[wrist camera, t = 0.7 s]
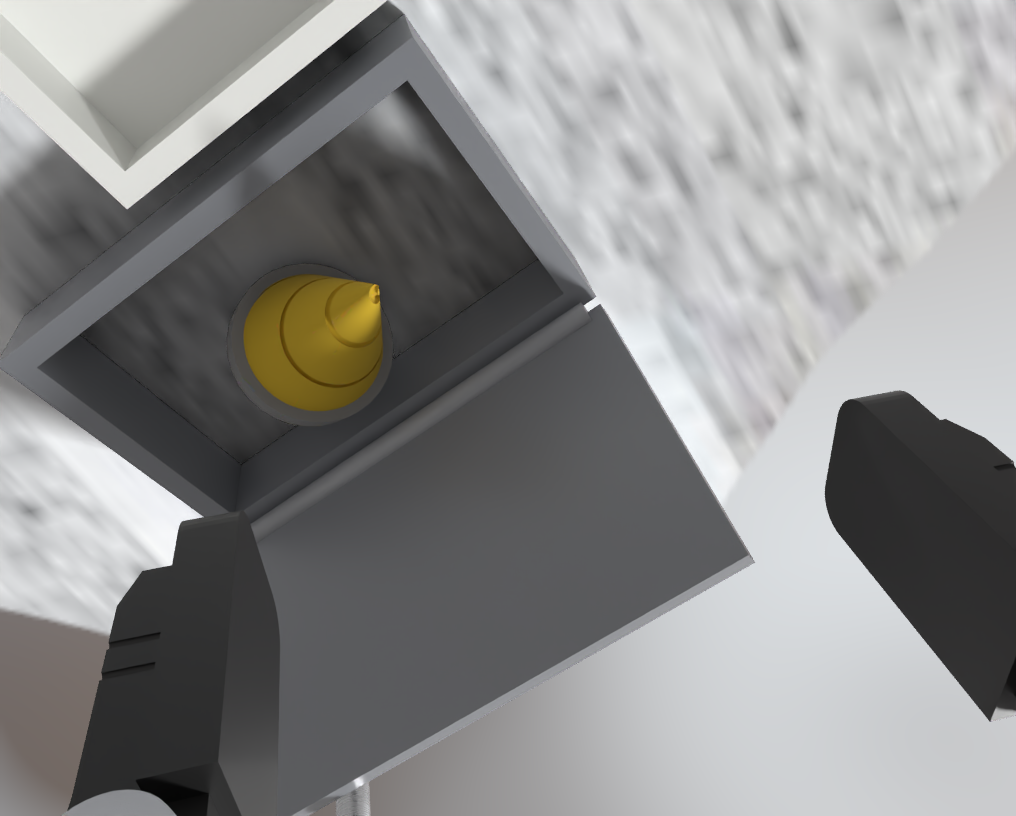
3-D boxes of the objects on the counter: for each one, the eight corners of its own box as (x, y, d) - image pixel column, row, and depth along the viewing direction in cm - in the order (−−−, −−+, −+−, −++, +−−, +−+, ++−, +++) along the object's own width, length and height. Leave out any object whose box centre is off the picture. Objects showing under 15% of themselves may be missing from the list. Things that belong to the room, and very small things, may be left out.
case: (404, 13, 25) (412, 36, 23) (574, 257, 31) (596, 296, 28) (23, 317, 28) (-5, 364, 26) (240, 486, 34) (234, 539, 32)
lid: (744, 550, 21) (755, 562, 22) (590, 289, 28) (602, 305, 29) (260, 827, 25) (283, 829, 25) (224, 536, 31) (243, 545, 32)
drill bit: (191, 315, 30) (243, 211, 21) (331, 280, 33) (429, 174, 24) (243, 458, 30) (317, 413, 21) (379, 411, 33) (495, 354, 24)
